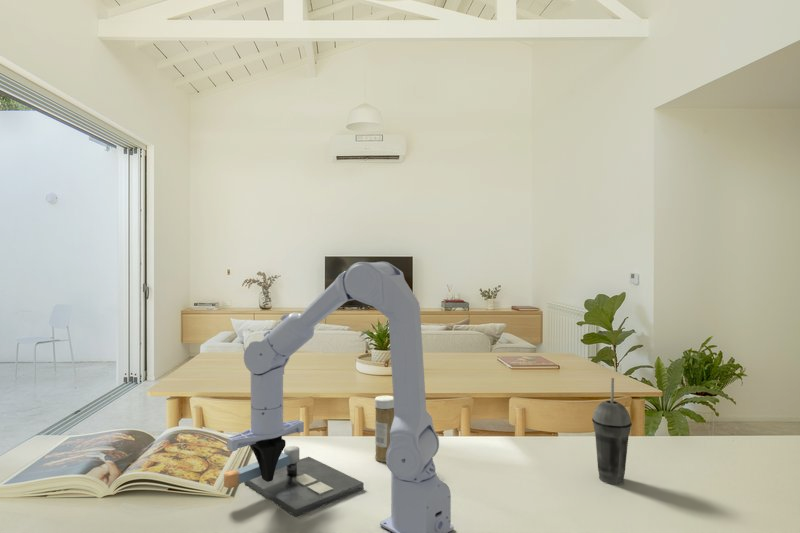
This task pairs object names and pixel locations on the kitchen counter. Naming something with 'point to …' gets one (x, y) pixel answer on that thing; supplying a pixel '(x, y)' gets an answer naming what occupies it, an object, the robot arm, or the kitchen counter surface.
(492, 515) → the kitchen counter surface
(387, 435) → the sprinkles bottle
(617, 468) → the beverage cup
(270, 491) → the board
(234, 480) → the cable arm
